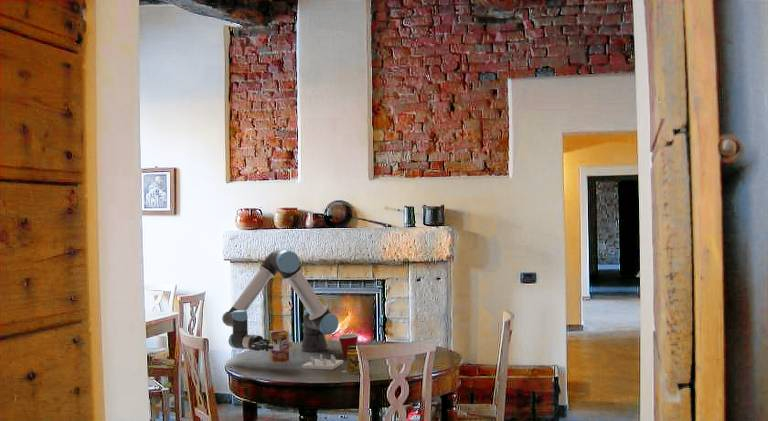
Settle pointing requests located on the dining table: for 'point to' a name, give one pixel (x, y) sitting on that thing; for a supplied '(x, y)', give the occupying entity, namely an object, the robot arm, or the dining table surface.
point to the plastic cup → (347, 342)
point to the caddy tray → (322, 363)
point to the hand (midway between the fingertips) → (286, 346)
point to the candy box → (283, 341)
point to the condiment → (352, 360)
